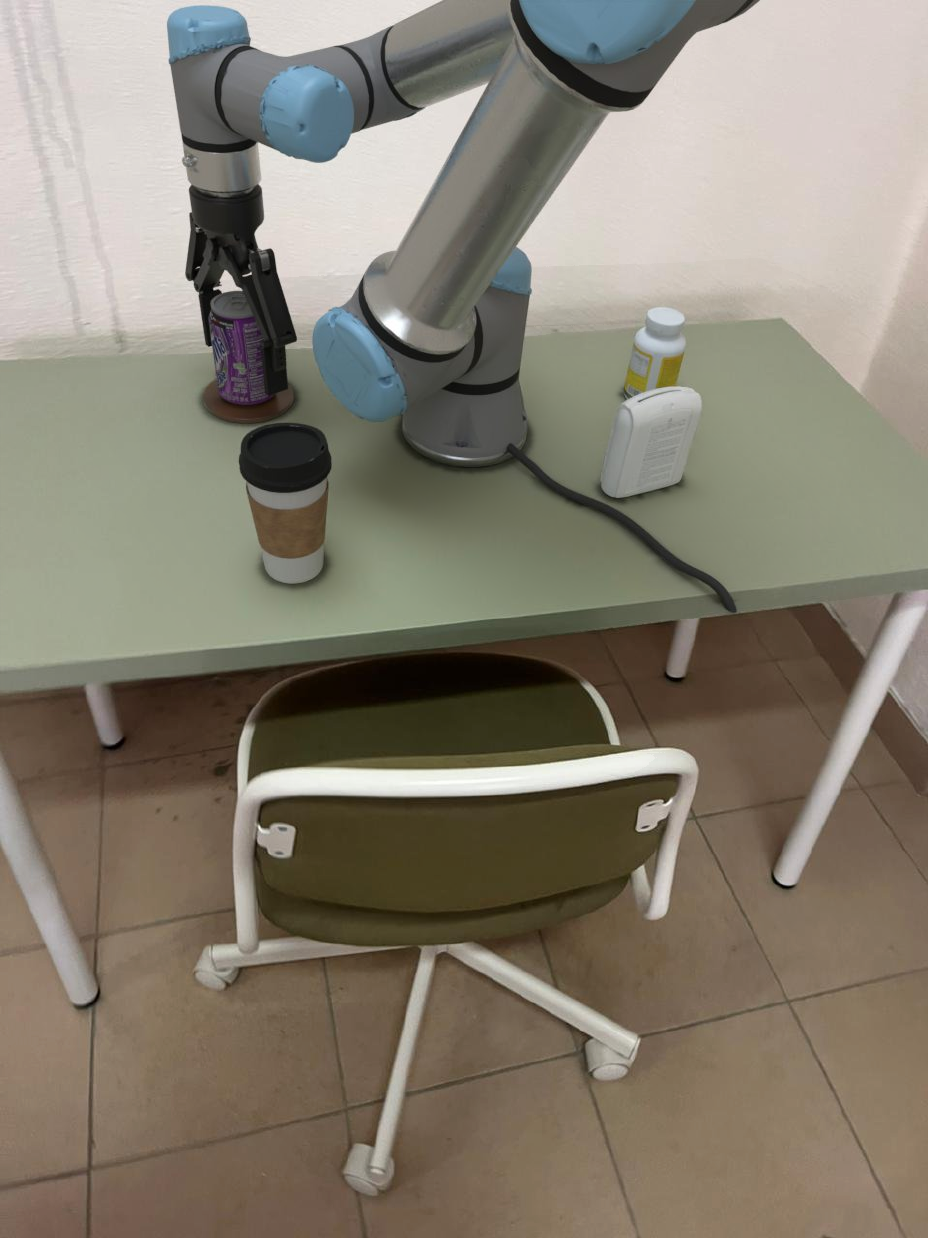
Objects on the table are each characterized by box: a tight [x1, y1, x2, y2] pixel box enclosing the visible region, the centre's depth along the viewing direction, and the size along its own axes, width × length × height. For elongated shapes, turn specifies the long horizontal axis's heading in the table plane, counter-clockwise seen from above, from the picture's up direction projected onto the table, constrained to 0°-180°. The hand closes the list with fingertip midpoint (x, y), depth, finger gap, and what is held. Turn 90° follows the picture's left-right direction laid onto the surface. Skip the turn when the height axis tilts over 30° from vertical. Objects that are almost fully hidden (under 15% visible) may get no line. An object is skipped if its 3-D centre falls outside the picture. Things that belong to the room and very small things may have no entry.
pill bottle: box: [623, 306, 687, 400], centre depth 116 cm, size 6×6×12 cm
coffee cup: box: [238, 422, 333, 585], centre depth 88 cm, size 8×8×15 cm
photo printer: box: [599, 385, 703, 499], centre depth 102 cm, size 10×4×12 cm, turn 117°
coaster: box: [202, 378, 295, 424], centre depth 113 cm, size 11×11×1 cm
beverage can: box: [209, 290, 274, 405], centre depth 109 cm, size 7×7×12 cm
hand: (245, 366), depth 110 cm, fingers open, 13 cm apart
